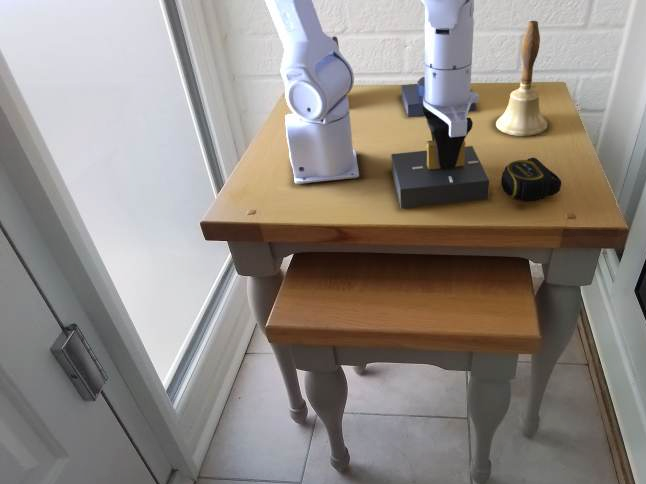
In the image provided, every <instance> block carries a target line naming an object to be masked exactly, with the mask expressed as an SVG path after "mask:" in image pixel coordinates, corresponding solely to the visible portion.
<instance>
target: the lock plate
mask: <svg viewBox="0 0 646 484" xmlns="http://www.w3.org/2000/svg"><path fill="white" fill-rule="evenodd" d="M391 172H392V173H391V174H392V177H393V182H394V186H395V189H396V193H397V198H398V202H399V207H400V209H410V208H417V207H418V208H419V207H428V206H438V205H447V204H457V203H465V202H477V201H484V200H485V201H486V200H488V199H489V191H490V178H489V177H488V174H487V172H486V171H485V168H484V166H483V164H482V162H481V161H480V158H479V156H478V155H477V152H476V150H475V148H474V147H473V145H469V146H465V157H464V166H458V167H455V168H446V169H440V168H438V169H428V167H427V150H417V151H407V152H400V153H399V152H398V153H391Z"/></svg>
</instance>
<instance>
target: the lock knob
mask: <svg viewBox="0 0 646 484" xmlns="http://www.w3.org/2000/svg"><path fill="white" fill-rule="evenodd" d="M465 147H466V139H464V141H463V144H462V146H461V149H460V153H459V156H458V160H457V163H456V166H455V167H458V166H464V157H465ZM426 151H427V167H428V169H438V168H440V166H439V163H438V159H437V152H436V145H435V140H432V139H431V140H426Z"/></svg>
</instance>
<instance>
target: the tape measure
mask: <svg viewBox="0 0 646 484" xmlns="http://www.w3.org/2000/svg"><path fill="white" fill-rule="evenodd" d="M500 185H501V187H502V190H503V192H504V193H505V194H506V196H508V197H510V198H511V199H513V200H516V201H520V202H526V203H527V202H528V203H529V202H531V203H533V202H539V201H541V200H544V199H545V198H549V197H551V196H555V195H557V194H558V193H559V192H560V191H561V189H562V180H561V178H560V177H559V176H558V175H557V174H556V173H555V172H553V171H552V170H550V169H549V167H546V166H545V165H544V164H543V163H542V162H541V161H540V160H539V159H538V158H536V157H533V156H532V157H530V158H527V159H516V160H513V161H511V162H510V163H508V164H507V165H505V167H504V169H503V171H502V173H501V179H500Z"/></svg>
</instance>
